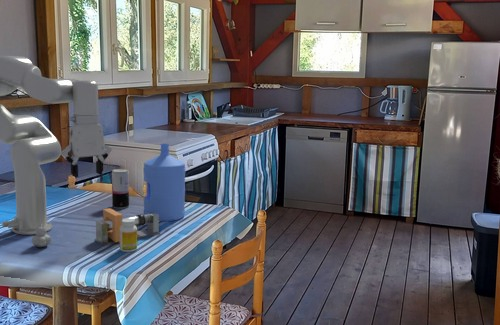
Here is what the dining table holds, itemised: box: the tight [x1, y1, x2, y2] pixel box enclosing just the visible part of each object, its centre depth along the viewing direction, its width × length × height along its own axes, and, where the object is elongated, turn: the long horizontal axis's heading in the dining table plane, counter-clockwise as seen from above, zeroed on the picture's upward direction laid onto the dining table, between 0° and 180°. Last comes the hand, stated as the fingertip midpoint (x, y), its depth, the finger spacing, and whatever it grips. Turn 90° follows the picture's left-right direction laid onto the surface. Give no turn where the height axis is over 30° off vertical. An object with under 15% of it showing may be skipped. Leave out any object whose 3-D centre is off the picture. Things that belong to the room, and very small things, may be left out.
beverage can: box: [111, 168, 130, 210], centre depth 212 cm, size 7×6×15 cm
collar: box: [102, 207, 123, 243], centre depth 172 cm, size 2×9×9 cm, turn 39°
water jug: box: [143, 143, 186, 222], centre depth 199 cm, size 16×16×28 cm
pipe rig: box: [94, 212, 161, 246], centre depth 176 cm, size 21×6×7 cm, turn 129°
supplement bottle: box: [119, 217, 138, 253], centre depth 164 cm, size 5×5×10 cm
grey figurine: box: [31, 222, 52, 248], centre depth 164 cm, size 5×7×8 cm
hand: (87, 174), depth 168 cm, fingers open, 7 cm apart
